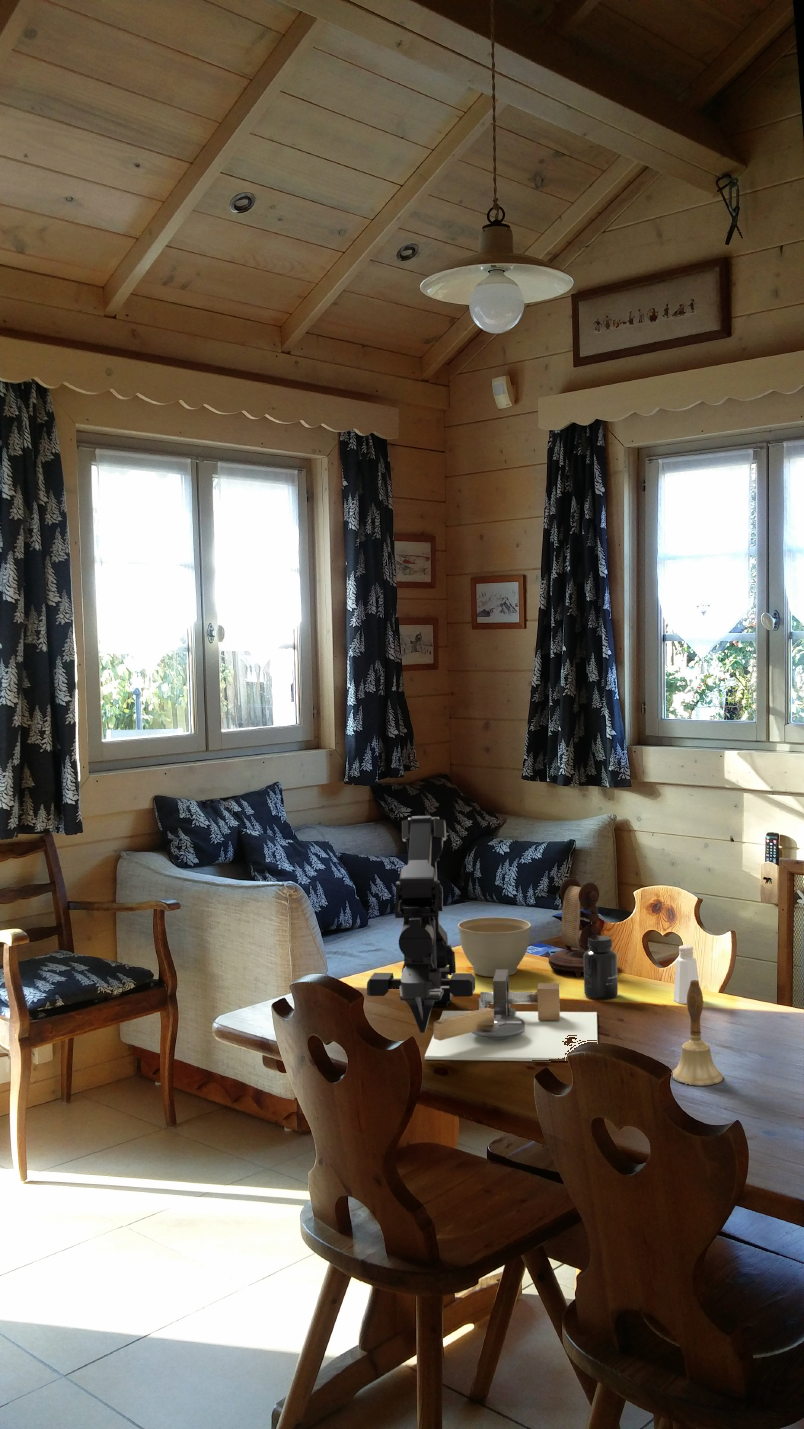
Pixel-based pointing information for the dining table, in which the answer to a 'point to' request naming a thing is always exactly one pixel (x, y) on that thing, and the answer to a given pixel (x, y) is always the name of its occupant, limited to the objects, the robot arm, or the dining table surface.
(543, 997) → the wooden mallet
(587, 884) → the brown upright piece
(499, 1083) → the dining table surface
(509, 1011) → the iron eye
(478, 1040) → the white board
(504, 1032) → the handwheel
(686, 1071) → the hand bell
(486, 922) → the planter bowl
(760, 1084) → the dining table surface
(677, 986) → the pepper shaker
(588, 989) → the supplement bottle
